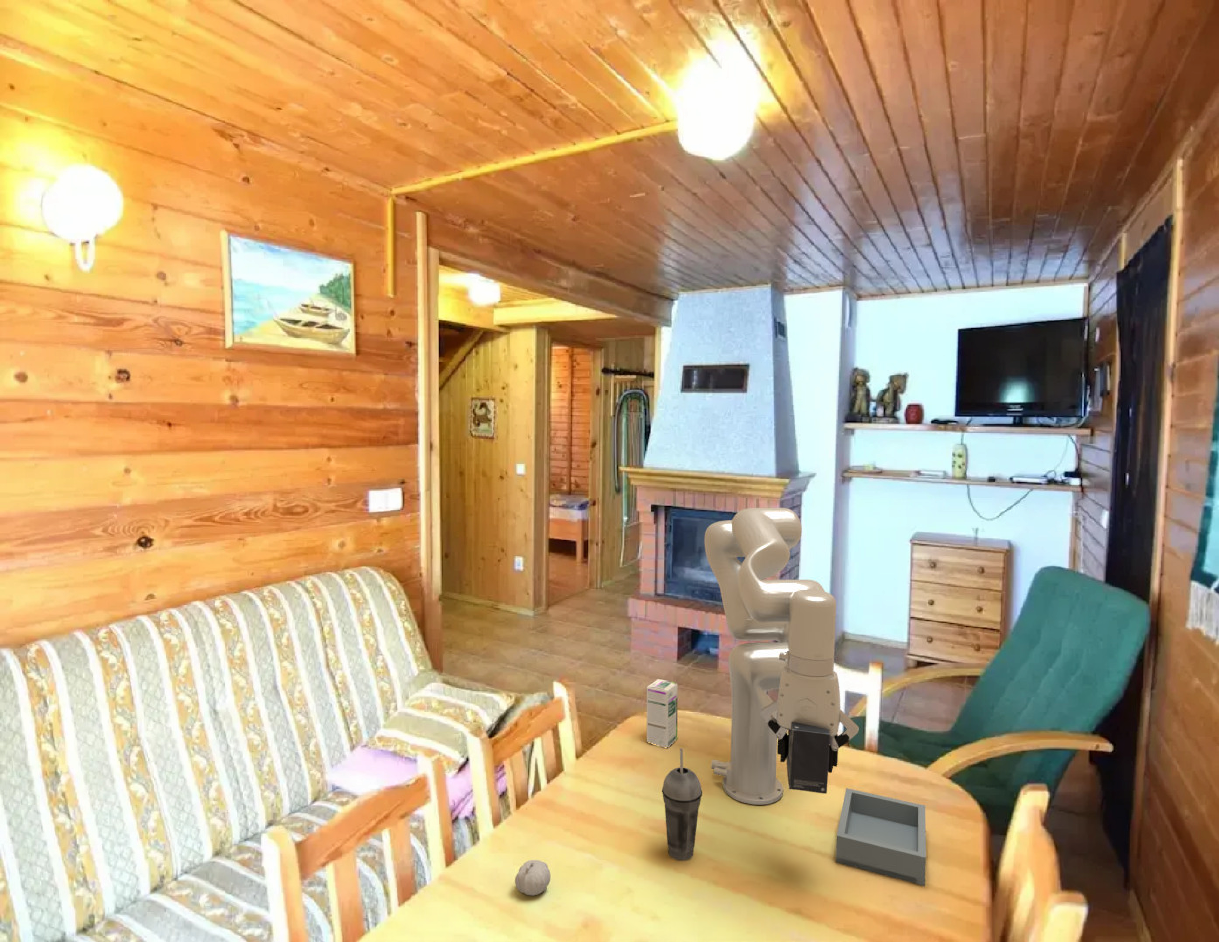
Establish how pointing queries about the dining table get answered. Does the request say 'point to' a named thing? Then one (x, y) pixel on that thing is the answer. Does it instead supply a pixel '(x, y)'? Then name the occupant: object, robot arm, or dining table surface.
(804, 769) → the small box
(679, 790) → the beverage cup
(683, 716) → the dining table surface
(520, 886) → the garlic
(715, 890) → the dining table surface
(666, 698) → the syrup box
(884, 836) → the crate
